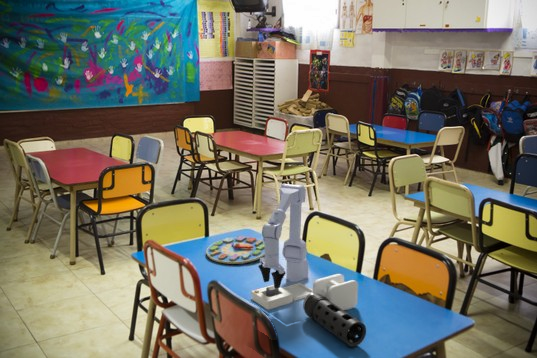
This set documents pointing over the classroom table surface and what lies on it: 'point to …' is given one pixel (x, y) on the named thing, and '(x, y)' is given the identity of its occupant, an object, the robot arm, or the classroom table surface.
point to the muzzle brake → (334, 319)
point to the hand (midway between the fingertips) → (271, 284)
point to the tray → (298, 291)
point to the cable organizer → (337, 290)
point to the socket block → (271, 298)
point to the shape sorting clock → (236, 250)
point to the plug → (272, 291)
